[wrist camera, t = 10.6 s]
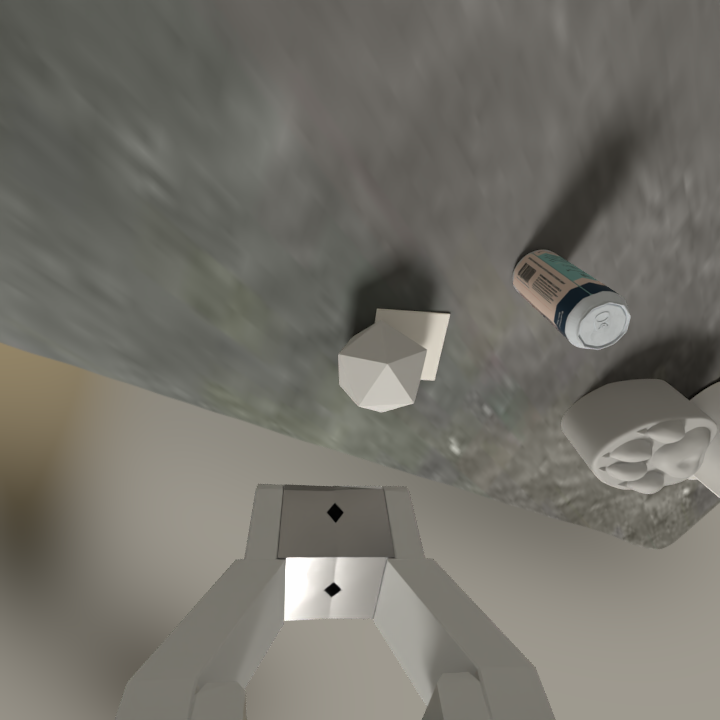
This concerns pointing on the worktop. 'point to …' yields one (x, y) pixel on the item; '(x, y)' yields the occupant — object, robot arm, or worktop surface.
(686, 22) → the worktop surface
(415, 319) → the pad
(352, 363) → the die
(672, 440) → the lumpy-topped squat cylinder
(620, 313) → the beer can
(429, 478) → the worktop surface
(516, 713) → the robot arm
